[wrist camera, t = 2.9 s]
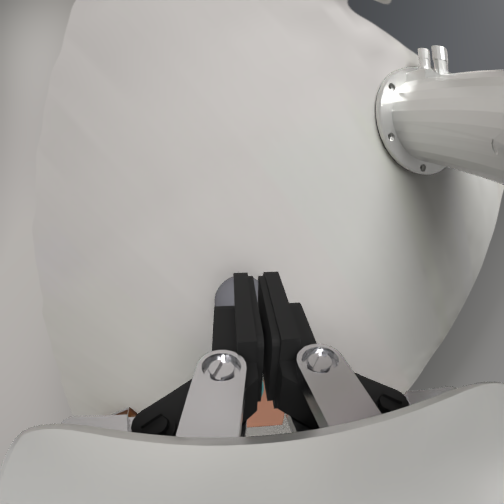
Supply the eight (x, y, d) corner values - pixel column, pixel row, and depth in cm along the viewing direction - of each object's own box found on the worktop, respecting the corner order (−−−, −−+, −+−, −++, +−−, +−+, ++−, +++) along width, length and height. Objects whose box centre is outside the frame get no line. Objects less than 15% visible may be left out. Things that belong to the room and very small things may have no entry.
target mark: (194, 381, 36) (194, 382, 36) (290, 378, 37) (290, 378, 37) (205, 427, 42) (205, 427, 42) (282, 423, 43) (282, 424, 43)
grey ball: (214, 266, 29) (211, 294, 24) (266, 265, 29) (273, 292, 24) (217, 309, 31) (215, 340, 26) (264, 307, 32) (270, 338, 27)
